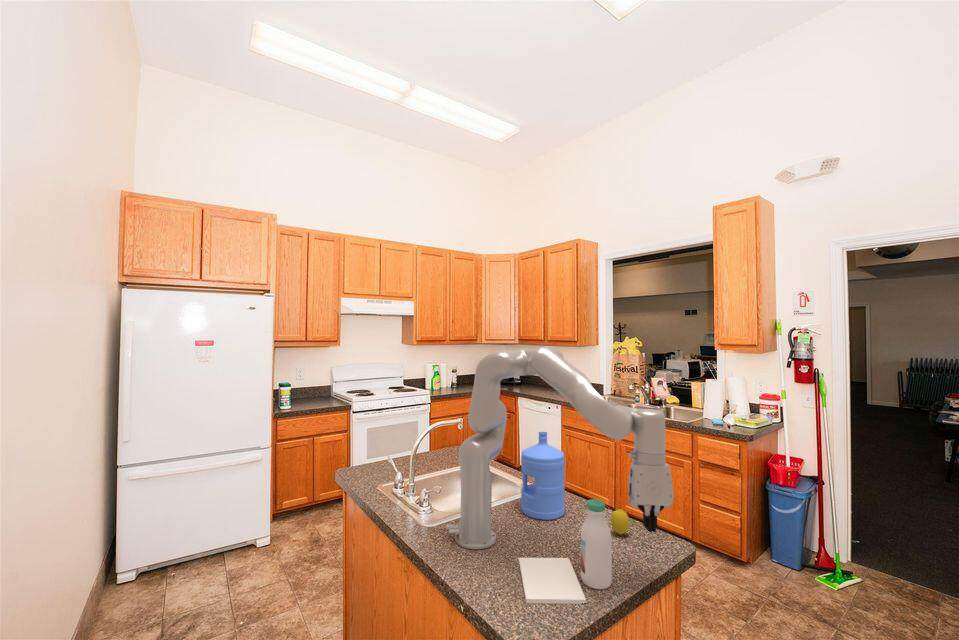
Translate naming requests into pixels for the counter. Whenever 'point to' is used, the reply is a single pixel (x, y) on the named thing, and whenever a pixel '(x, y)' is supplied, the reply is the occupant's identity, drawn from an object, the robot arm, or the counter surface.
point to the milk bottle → (596, 547)
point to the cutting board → (550, 581)
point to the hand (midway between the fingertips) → (650, 529)
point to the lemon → (620, 521)
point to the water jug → (543, 481)
